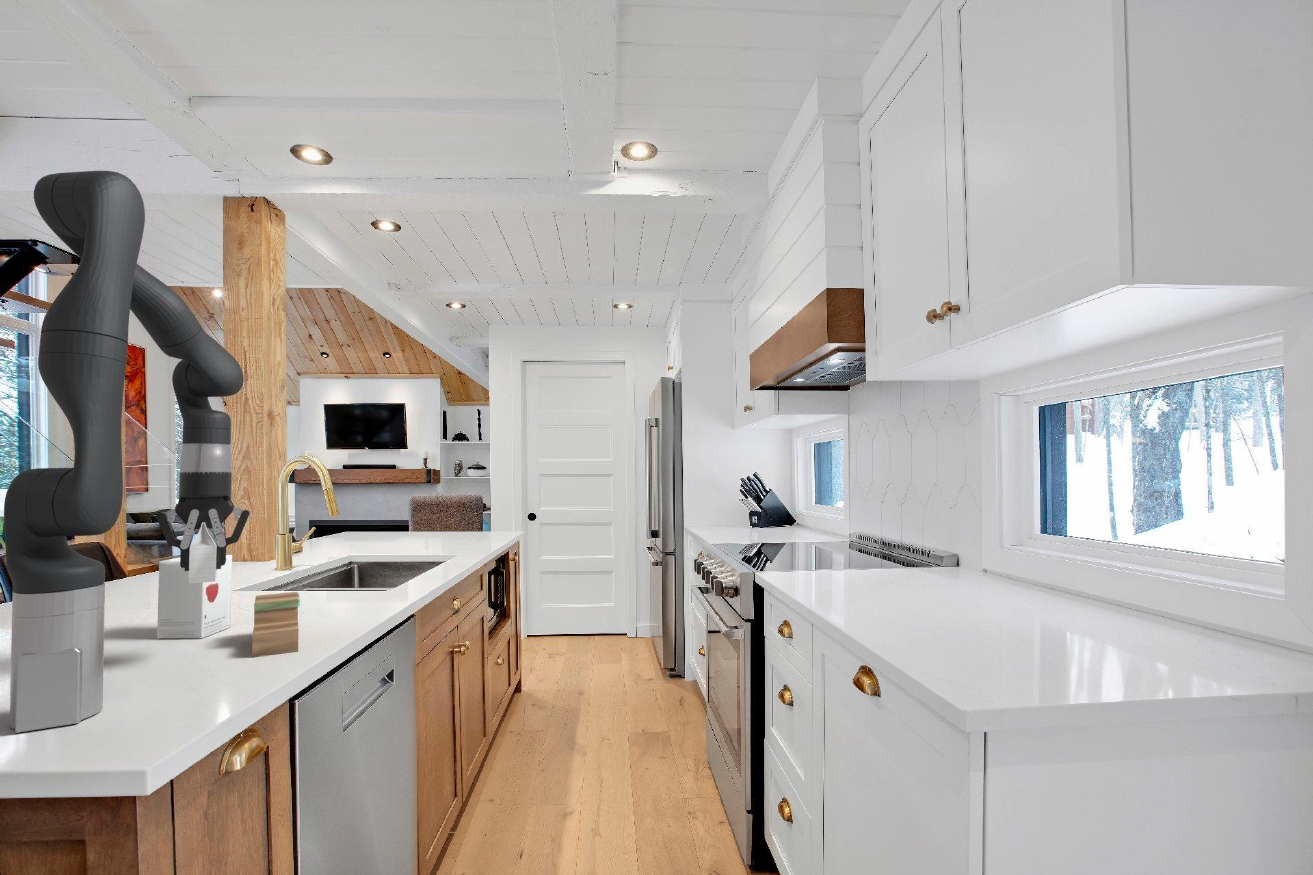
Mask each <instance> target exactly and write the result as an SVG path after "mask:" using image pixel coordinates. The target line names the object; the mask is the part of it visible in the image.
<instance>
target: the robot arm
mask: <svg viewBox="0 0 1313 875" xmlns="http://www.w3.org/2000/svg"><path fill="white" fill-rule="evenodd" d="M142 196H143V195H142V194H141V192H140V190H139V188H138V187H137V185H136V184H135V183H134V182H133V181H132V180H131V179H130V178H129V177H128V176H126V175H124V174H122V173H120V172H118V171H112V170H88V171H84V170H83V171H69V172H56V173H51V174H47V175H44V176H42V177H41V178H39V179H38V180H37V182H36V183H35V186H34V189H33V200H34V204H35V208H36V210H37V211H38V213H39V215H40V217H41V219H42V220H43V221H44V222H45V224H46V225H47V226H48V227H49V229H50V230H51V231H52V232H53V233H54V234H55V235H56V236H57V237H58V239H60V240H61V241H62V242H63V243H64V244H65V245H66V246H67V247H68V249H70V250H71V251H72V252H73V253H74V254H75V255H76V256H77V257H78V258H79V259H80V261H79V264H78V266H77V268H76V269H75V272H73V274H72V276H71V277H70V279H69V280H68V282H67V283H66V284H65V285H64V287H63V288H62V290H61V291H60V292H59V293H58V295H57V296H56V297H55V299H53V302H52V303H51V305H50V306H49V308H48V310H47V311H46V313H45V314H44V317H43V320H42V324H41V328H40V329H41V330H40V337H39V338H40V340H39V349H38V358H37V359H38V361H37V364H38V365H37V367H38V371H39V374H40V377H41V380H42V382H43V383H44V385H45V386H46V388H47V390H48V391H49V394H50V395H51V397H52V398H53V399H54V401H55V402H56V404H57V405H58V406H59V408H60V409H61V411H62V413H63V414H64V416H65V418H67V421H68V423H69V425H70V428H71V431H72V435H73V443H74V445H73V447H74V459H73V460H74V462H73V467H43V468H41V467H40V468H39V467H38V468H30V469H25V470H23V471H21V472H20V473H18V474H17V475H16V476H15V477H14V478H13V479H12V480H11V482H10V484H8V485H9V486H8V488H7V490H6V492H5V496H4V497H5V498H4V503H3V504H4V505H3V527H4V541H5V542H4V544H5V545H4V546H5V561H6V562H5V564H6V570H7V572H8V575H9V576H10V579H11V581H12V582H11V583H12V602H11V603H12V604H11V605H12V606H11V607H12V609H11V612H12V613H11V637H10V640H11V643H10V646H11V648H10V682H9V683H10V690H9V691H10V692H9V696H10V697H9V727H10V729H13V730H14V732H15V733H16V734H17V733H21V732H22V733H23V732H24V733H25V732H29V731H35V730H42V729H47V728H48V729H49V728H55V727H61V726H69V725H73V724H78V723H80V722H81V721H82V720H84V719H85V720H86V719H87V718H90V717H91V716H94V715H96V714H98V713H99V712H101V711H102V709H103V708H104V705H103V704H104V662H105V661H104V656H105V653H104V652H105V650H104V649H105V647H104V646H105V603H106V599H105V598H106V595H105V594H106V568H105V564H103V563H102V562H101V561H99V560H98V559H97V560H96V559H94V558H91V557H88V556H85V555H83V554H80V553H79V552H77V551H76V550H74V549H73V548H72V547H71V546H70V545H69V543H68V538H67V537H86V536H89V537H90V536H99V535H103V534H106V533H107V532H109V531H111V529H113V527H114V526H115V525H116V523H117V521H118V519H119V518H120V513H121V512H122V511H121V510H122V505H123V498H124V497H123V496H124V479H123V477H124V476H123V474H124V473H123V454H122V453H123V451H122V444H123V443H122V416H123V402H124V401H123V400H124V399H123V398H124V389H125V388H124V386H125V379H126V378H125V377H126V372H127V371H126V370H127V361H128V348H129V347H128V346H129V324H130V314H131V312H132V313H133V315H134V316H135V317H136V318H137V320H138V321H139V322H140V324H141V325H142V327H144V329H145V331H146V332H147V333H148V335H149V336H150V337H151V339H152V340H153V341H154V343H155V344H156V345H157V346H158V349H160V351H162V353H164V355H166V356H167V357H170V358H173V359H178V360H180V361H179V362H177V364H176V365H175V367H174V369H173V371H172V374H171V375H172V377H171V380H172V381H171V382H172V388H173V391H174V395H175V398H176V402H177V404H178V409H179V412H180V415H181V418H182V443H181V452H180V458H179V479H178V480H179V482H178V483H179V486H178V488H179V489H178V502H177V503H176V505H175V508H174V509H170V510H168V511H162V512H159V513H157V514H156V516H155V517H156V519H157V522H158V524H159V527H160V529H161V532H162V534H163V537H164V539H165V541H166V543H167V545H168V546H170V547H174V548H177V549H179V550H180V552H179V553H180V557H179V558H180V566H181V568H185V571H189V555H190V547H191V545H192V543H193V538H194V536H195V533H196V530H200V528H201V525H202V522H205V524H206V527H207V528H208V529H209V530H211V529H212V530H213V532H214V533H213V534H214V536H215V540H216V542H217V548H216V569H221V566H222V565H225V563H226V555H227V547H228V546H229V545H232V544H236V543H237V542H239V540H240V537H241V536H242V533H243V531H244V528H245V526H246V524H247V522H248V519H249V517H250V514H251V511H250V510H249V509H243V508H238V507H235V505H234V503H233V500H232V473H233V472H232V471H233V454H232V449H231V446H232V445H231V444H232V442H231V441H232V420H231V416H230V415H229V414H228V413H226V412H225V411H222V410H221V411H220V410H216V409H213V408H212V406H211V404H210V401H209V398H221V397H222V398H224V397H231V396H234V395H236V394H238V393H240V391H241V390H242V388H243V385H244V382H245V381H244V380H245V377H244V372H243V369H242V367H241V365H240V364H239V362H238V361H237V359H236V358H235V357H234V356H233V355H232V354H231V353H230V352H229V351H228V350H227V349H225V348H224V347H223V346H222V345H221V344H220V343H219V342H218V341H217V340H216V339H214V338H213V337H212V336H210V334H208V333H207V332H206V331H205V330H204V328H203V327H202V325H201V324H200V322H199V320H198V319H197V317H196V316H195V314H194V313H193V312H192V310H191V309H190V307H189V306H188V304H187V303H186V302H185V301H184V299H183V298H182V297H181V296H180V295H179V294H178V293H177V292H176V291H174V290H173V289H172V288H171V287H170V286H169V285H167V284H166V283H164V282H163V281H162V280H160V279H159V278H157V277H156V276H155V275H153V274H152V273H150V272H149V271H148V270H146V269H145V268H143V267H142V266H141V265H140V264H138V259H139V254H140V250H141V245H142V241H143V237H144V230H145V223H146V211H145V210H146V208H145V203H144V199H143V197H142ZM232 513H233V514H234V517H233V519H234V520H235V521H237V522H236V524H235V527H234V529H233V532H232V534H231V536H228V537H227V536H226V533H225V528H224V524H223V523H224V522H225V521H226V520H227V518H228V517H230V515H232ZM176 515H177V516H178V517H179V519H181V521H182V522H183V523H184V524H185V529H184V531H183V534H182V539H180V538H178V537H177V534H176V532H175V529H174V528H173V525H172V523H174V522H175V517H176Z"/></svg>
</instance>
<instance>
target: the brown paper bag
mask: <svg viewBox="0 0 1313 875" xmlns="http://www.w3.org/2000/svg"><path fill="white" fill-rule="evenodd" d="M300 600H301V599H300V592H298V591H290V592H281V593H280V592H279V593H269V594H259V595H255V599H254V602H253V603H254V605H253V606H254V607H253V608H254V610H253V618H254V619H253V620H254V621H253V630H252V639H251V640H252V642H251V643H252V644H251V645H252V647H251V648H252V649H251V650H252V652H251V654H252V655H251V657H252V658H259V657H264V656H266V657H267V656H273V655H280V654H287V653H296V652H299V614H298V613H299V607H300V605H301V601H300Z"/></svg>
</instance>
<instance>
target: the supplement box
mask: <svg viewBox="0 0 1313 875" xmlns="http://www.w3.org/2000/svg"><path fill="white" fill-rule="evenodd" d="M158 566H159V567H158V589H157V590H158V593H157V594H158V598H157V628H156V629H157V632H156V639H203V638H207V637H208V636H211V635H214V634H216V633H220V632H222V631H225V630H228V629H230V628H232V582H233V580H232V579H233V578H232V577H233V576H232V575H233V574H232V572H233V571H232V570H233V555H232V554H226V563H225V565H222V566H221V569H217V577H216V580H215V581H214V582H202V583H189V571H185V568H181V566H180V557H176V558H171V559H165V560H161V561H159V562H158Z"/></svg>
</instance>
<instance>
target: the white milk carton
mask: <svg viewBox="0 0 1313 875" xmlns="http://www.w3.org/2000/svg"><path fill="white" fill-rule="evenodd" d="M198 530H199V531H198V532H197V534H196V536H195V538H194V540H192V542H191V545H190V555H189V583H202V582H214V581H215V580H216V577H217V569H216V548H217V547H218V543H217V540H216V537H214V535H213V533H212V532H211V529H208V528H207V527H206V524H205V522H202V525H201V528H200V529H198Z"/></svg>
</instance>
